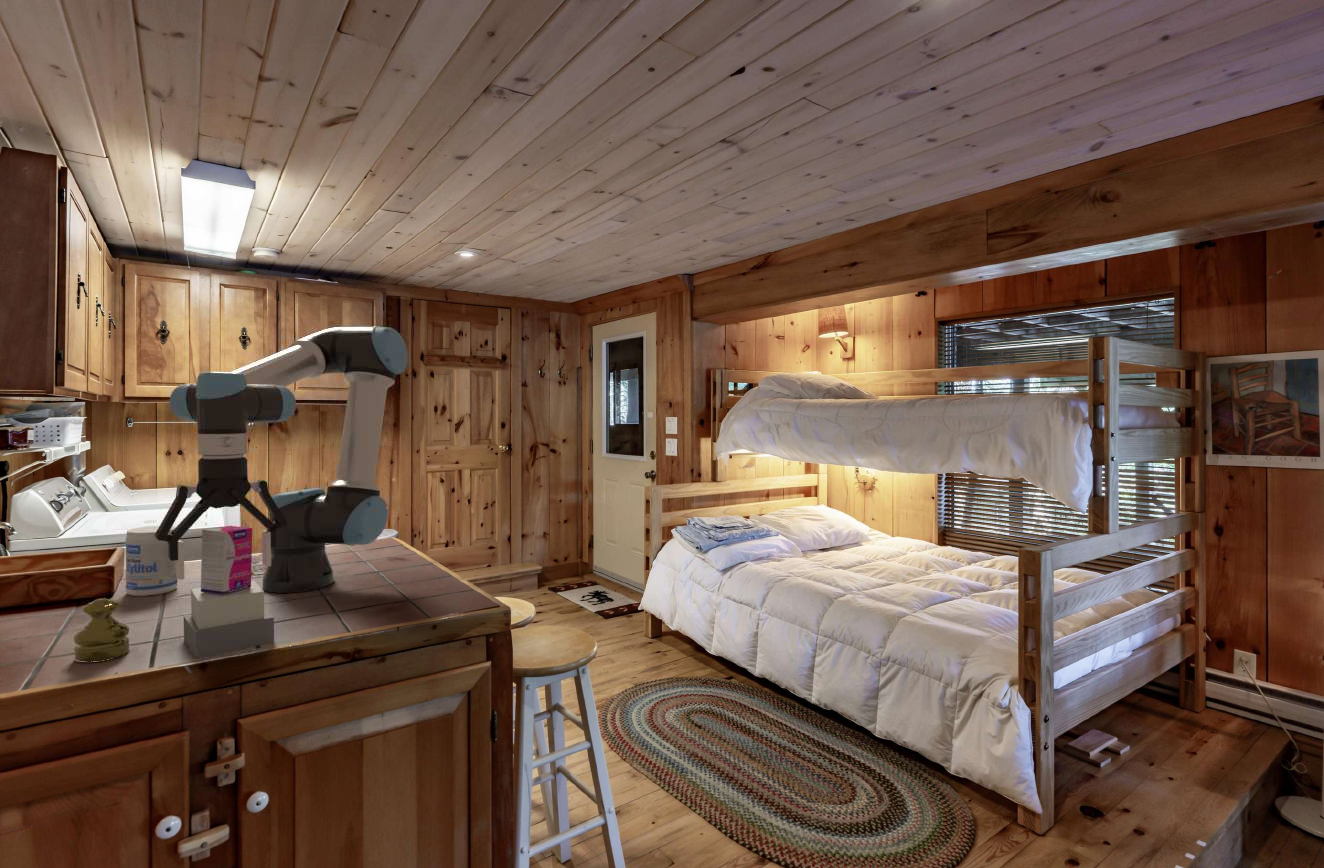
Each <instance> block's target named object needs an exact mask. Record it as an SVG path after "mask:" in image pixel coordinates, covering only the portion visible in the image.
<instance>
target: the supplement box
mask: <svg viewBox="0 0 1324 868" xmlns="http://www.w3.org/2000/svg"><path fill="white" fill-rule="evenodd" d="M252 550H253V528H252V527H247V526H237V525H236V526H235V525H226V526H219V527H213V528H212V527H211V528H205V529H202V530H201V560H200V561H201V564H200V566H201V568H200V574H201V575H200V588H201V592H205V593H215V594H227V593H229V592H233V591H237V590H241V589H246V588H250V587H251V580H252V572H251V562H252V561H251V560H252V555H253V554H252V552H253V551H252Z"/></svg>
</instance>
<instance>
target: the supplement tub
mask: <svg viewBox="0 0 1324 868" xmlns="http://www.w3.org/2000/svg"><path fill="white" fill-rule="evenodd" d="M159 526H160V525H152V526H151V525H149V526H139V527H134V528H130V529H127V531H126V537H125V592H126V593H127V594H128V595H129V596H134V597H148V595H150V596H154V595H162V594H166V593H168V592H172V591H174V590H175V589H176V588H177V587H178V580H179V579H178V578H177V577H176V560H175V561H171V560H170V559H169V557H168V542H166V541H159V540H158V539H157V538H155V533H156V532H157V530H158V528H159ZM176 527H177V526H174V525H173V526H172V527H171V529H170V531H169V533H168V534H170V533H171V532H172V531H173V530H174V529H175V528H176Z"/></svg>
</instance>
